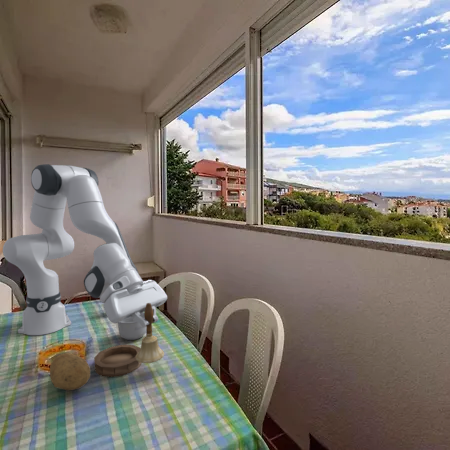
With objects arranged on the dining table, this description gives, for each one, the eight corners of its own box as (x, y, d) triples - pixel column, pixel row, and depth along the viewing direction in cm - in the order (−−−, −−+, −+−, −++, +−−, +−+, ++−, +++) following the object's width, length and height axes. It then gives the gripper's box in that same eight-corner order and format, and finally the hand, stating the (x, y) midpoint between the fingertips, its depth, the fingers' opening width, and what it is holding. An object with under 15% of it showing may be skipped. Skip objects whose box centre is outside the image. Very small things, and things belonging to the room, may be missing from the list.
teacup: (139, 344, 108) (138, 322, 107) (112, 342, 110) (111, 320, 110) (155, 328, 122) (155, 309, 121) (131, 326, 124) (130, 307, 123)
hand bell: (130, 357, 89) (128, 304, 88) (153, 346, 95) (152, 297, 94) (146, 366, 83) (145, 310, 82) (170, 355, 90) (168, 303, 88)
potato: (63, 406, 75) (62, 375, 74) (42, 385, 84) (41, 357, 83) (100, 388, 82) (99, 359, 82) (78, 370, 91) (76, 344, 91)
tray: (93, 359, 98) (93, 350, 97) (138, 349, 104) (137, 341, 103) (95, 382, 85) (95, 371, 85) (145, 369, 91) (145, 360, 91)
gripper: (148, 284, 103) (169, 317, 98) (94, 300, 86) (117, 342, 81) (157, 273, 100) (180, 307, 96) (104, 287, 83) (128, 330, 78)
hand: (151, 323), depth 88 cm, fingers closed on hand bell, 2 cm apart
